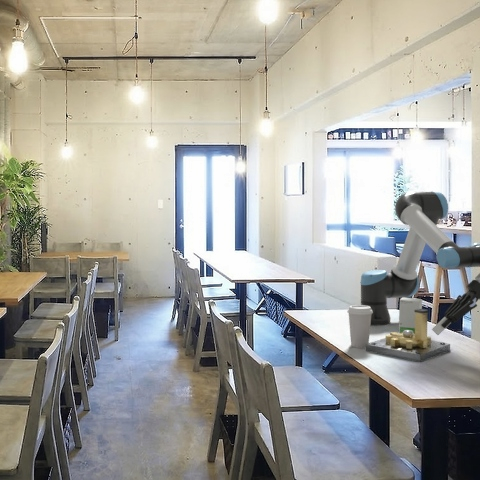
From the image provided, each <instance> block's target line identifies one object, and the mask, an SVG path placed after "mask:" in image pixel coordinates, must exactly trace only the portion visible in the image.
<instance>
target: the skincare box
mask: <svg viewBox="0 0 480 480" xmlns="http://www.w3.org/2000/svg"><path fill="white" fill-rule="evenodd" d="M417 309H423V299H421V298H414V297H401V298H400V299H399V311H398V312H399V316H398V333H403V330H412V331H413V333H414V334H415V312H414V310H417Z"/></svg>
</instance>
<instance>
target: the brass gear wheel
mask: <svg viewBox="0 0 480 480" xmlns="http://www.w3.org/2000/svg"><path fill="white" fill-rule="evenodd" d="M414 312H415V334H414V333H413V337H405V336H403V333H399V332H390V333H389V334H385V338H386V343H391V346H394V347H396V346H402V347H406V348H409V349H412V347H421V348H426V347H427V345H431V341H432V337H431V336H428V314H429V310H428V309H424V308H422V309H417V310H414Z"/></svg>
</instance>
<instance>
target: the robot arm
mask: <svg viewBox="0 0 480 480" xmlns="http://www.w3.org/2000/svg"><path fill="white" fill-rule="evenodd" d="M394 206H395V207H394V209H395V210H394V211H395V215H396V216H397V218H398V220H399V221H400V222H401V223H402V224H403V225H404V226H405V225H406V226H409V230H408V232H407V236H406V238H405V241H404V244H403V247H402V250H401V252H400V255H399V258H398V260H397V264H394V265H393V266H392V268H391V270H390V272H387V270H384V269H375V270H373V269H372V270H367V271H365V272H363V273H362V274H361V278H360V305H365V306H370V307H371V310H372V311H373V313H372V314H371V324H370V326H371V325H372V326H373V325H374V326H377V325H378V326H379V325H380V326H381V325H388V324H391V315H390V312H389V309H388V302H387V301H388V299H398V298H400V299H401V298H402V297H405V298H411V297H413V296H415V295H416V293H417V292H418V290H419V288H420V278H419V275H418V273H417V271H416V270H417V268H418V267H419V266H418V265H419V263H420V260H421V259H422V258H421V257H422V254H423V252H424V249H425V246H426V245H427V246H428V247H429V248H430V249H431V250H432V251H433V252H434V253H435V254H436V256H435V257H436V261H437V264H438V265H439V267H441V268H442V269H443V268H444V269H459V268H479V267H480V242H474V243H472V244H469V246H459V245H457V244H456V243H455V242H454V241H453V240H452V238H450V237H449V236H448V235H447V234H446V233H445V232H444V231H443V230H442V229H441V228H439V226H438V222H439V220H443V219H445V218H446V217H447V216H448V213H449V202H448V199H447V197H446V196H445V195H444V194H443V193H442V192H439V191H433V190H432V191H409V192H405V193H403V194H401V195H400V196H399V197H398V198H397V200H396V202H395V205H394ZM466 288H467V290H468V291H466V292H465V293H463V294H462V295H461V294H459V295H458V296H457V297H456V299H455V300H454V302H453V303H452V304H451V305H450V306H449V307H448V308H447V309H446V310H445V311H444V313H443V316H444V317H443V318H442V319H441V320H440V321H438V323H436V324H435V325H434V326H433V327H432V328H431V330H432V331H433V333H435V335H436V336H439V335H441V334H442V333H443V332H444V331H445V330H446V328H448V327H449V326H450V325H451V324H453V323H457V322H458V321H459V320H460V319H462V318H463V317H465V315H467V314H468V313H469V312H471V311H472V310H473V309H475V308H477V307H478V304H477V302H478V301H479V300H480V272H479V273H478V274H477V276H475V279H472V281H470V282H469V283H468V284H467V285H466Z"/></svg>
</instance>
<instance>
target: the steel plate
mask: <svg viewBox="0 0 480 480" xmlns="http://www.w3.org/2000/svg"><path fill="white" fill-rule="evenodd" d="M403 336H405V337H413V331H412V330H403ZM365 351H366V352H371V353H375V354H379V355H380V354H381V355H385V356H389V357H393V358H394V357H395V358H399V359H403V360H408V361H412V360H413V362H418V363H422V362H424V361H427V360H430V359H433V358H434V357H437V356H440V355H443V354H446V353H448V352H450V351H451V343H447V342H442V341H436V340H431V345H427V347H426V348H421V347H412V349H409V348H406V347H402V346H396V347H394V346H391V343H386V337H385V338H382V339H379V340H374V341H372V342H369V343H368V344H366V347H365Z"/></svg>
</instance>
